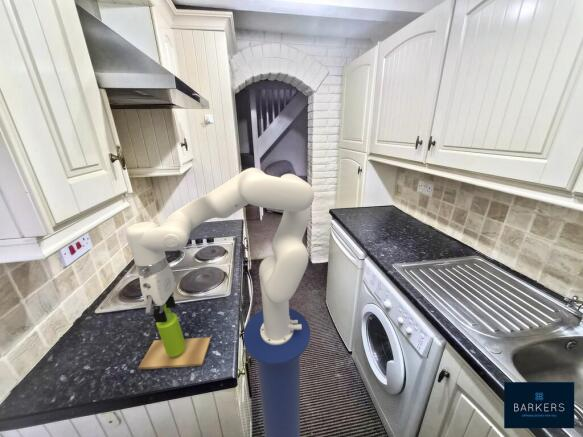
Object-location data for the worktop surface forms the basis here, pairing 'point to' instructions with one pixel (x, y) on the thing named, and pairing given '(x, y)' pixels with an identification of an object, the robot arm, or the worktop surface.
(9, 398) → the worktop surface
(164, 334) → the soap dispenser
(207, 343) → the chopping board
